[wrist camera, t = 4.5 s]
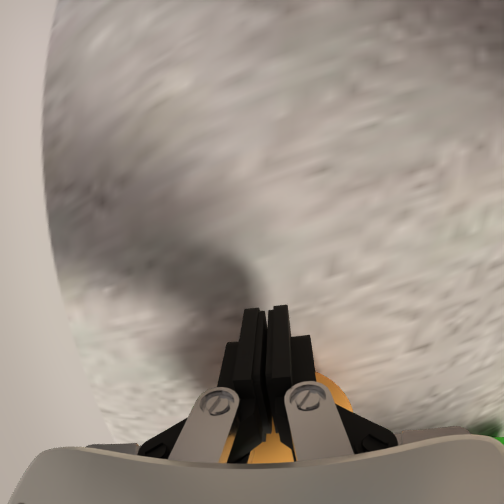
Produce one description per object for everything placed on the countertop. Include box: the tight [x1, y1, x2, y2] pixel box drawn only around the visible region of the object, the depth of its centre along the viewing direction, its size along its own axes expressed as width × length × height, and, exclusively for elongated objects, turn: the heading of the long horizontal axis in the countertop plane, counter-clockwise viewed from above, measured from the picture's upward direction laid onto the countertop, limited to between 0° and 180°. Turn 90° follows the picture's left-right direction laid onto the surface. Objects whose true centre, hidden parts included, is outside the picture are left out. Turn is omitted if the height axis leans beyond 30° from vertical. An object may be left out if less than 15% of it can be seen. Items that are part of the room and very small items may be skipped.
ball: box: [252, 372, 353, 464], centre depth 12 cm, size 6×6×6 cm
